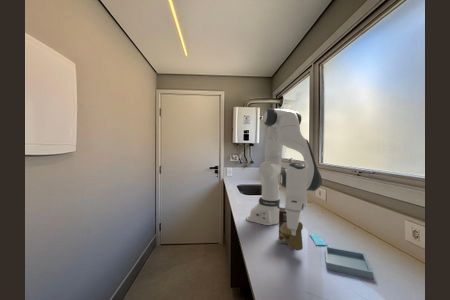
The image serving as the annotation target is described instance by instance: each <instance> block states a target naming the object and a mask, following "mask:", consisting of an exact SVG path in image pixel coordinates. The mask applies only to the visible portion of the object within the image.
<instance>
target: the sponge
mask: <svg viewBox="0 0 450 300" xmlns="http://www.w3.org/2000/svg"><path fill="white" fill-rule="evenodd" d="M309 237H310V238H311V240H312V242H313V243H314V245H315V246H317V247H325V246H328V247H329V245H328V244H327V242H326V241H325V240H324V239H323V238H321V236H319V235H318V234H315V233H309Z"/></svg>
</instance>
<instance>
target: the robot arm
mask: <svg viewBox="0 0 450 300" xmlns="http://www.w3.org/2000/svg"><path fill="white" fill-rule="evenodd" d="M262 119H263V123H264V125H265V126H267V127H268V128H267V130H266V134H265V135H266V136H265V140H264V141H265V143H264V149H263V151H264V161H263V162H262V163H261V164H260V165H259V167H258V174H259V177H260V178H259V179H260V183H261V196H260V197H259V198H258V203H257V204H256V205H254V206H253V207H252V208H251V210H250V212H249V214H248V215H247V216H246V220H247V221H248V222H252V223H255V224H260V225H264V226H271V225H277V224H278V225H279V209H280V207H281V198H280V185H281V186H282V187H283V188H284V189H286V191H285V203H284V204H285V205H284V208H285V209H287V211H286V216H287V228H288V229H291V231H292V232H291V234H292V235H294V236H295V235H296V230H297V227H298V224H299V222H301V218H302V215H303V210H305V208H306V207H308V192H307V191H311V192H315V191H317V190H319V188H321V186H322V184H323V181H322V180H323V179H322V175H321V173H320V171H319V169H318V166H317V162H316V158H315V156H314V153H313V149H312V147H311V144H310V142H309V140H308V139H306V138H305V137H304V136H303V135H302V132H301V126H300V125H301V123H302V115H301V113H300V112H298V111H296V110H290V109H285V108H284V109H283V108H281V109H280V108H267V109H266V110H265V112H264V114H263V117H262ZM283 147H286V148H288V149H291V150H294V151H296V152H298V153H299V154H300V155H301V156H302V157H303V162H304V164H303V163H299V162H293V163H292V162H291V163H289V164H288V166H287V167H286V168H284V169H282V163H283V161H282V159H283V156H282V154H283ZM278 175H279V176H280V177H279V178H280V180H279V178H278Z"/></svg>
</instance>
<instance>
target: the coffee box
mask: <svg viewBox="0 0 450 300" xmlns="http://www.w3.org/2000/svg"><path fill="white" fill-rule="evenodd" d="M286 211H287V209H285V207H281V206H280V209H279V224H278V243H279V244H285V245H288V244H289V239H290V233H291V229H288V228H287V216H286Z"/></svg>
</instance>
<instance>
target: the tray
mask: <svg viewBox="0 0 450 300" xmlns="http://www.w3.org/2000/svg"><path fill="white" fill-rule="evenodd" d="M324 257H325V258H324V259H325V268H326V270H331V271H334V272H340V273H344V274H348V275H353V276H357V277H361V278H365V279H371V280H374V271H373V268H372V267H371V265H370V263H369V260H368V258H367V256H366V253H365V252H360V251H355V250H354V251H353V250H349V249H342V248H337V247H334V246H333V247H332V246H329V245H328V246H324Z"/></svg>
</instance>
